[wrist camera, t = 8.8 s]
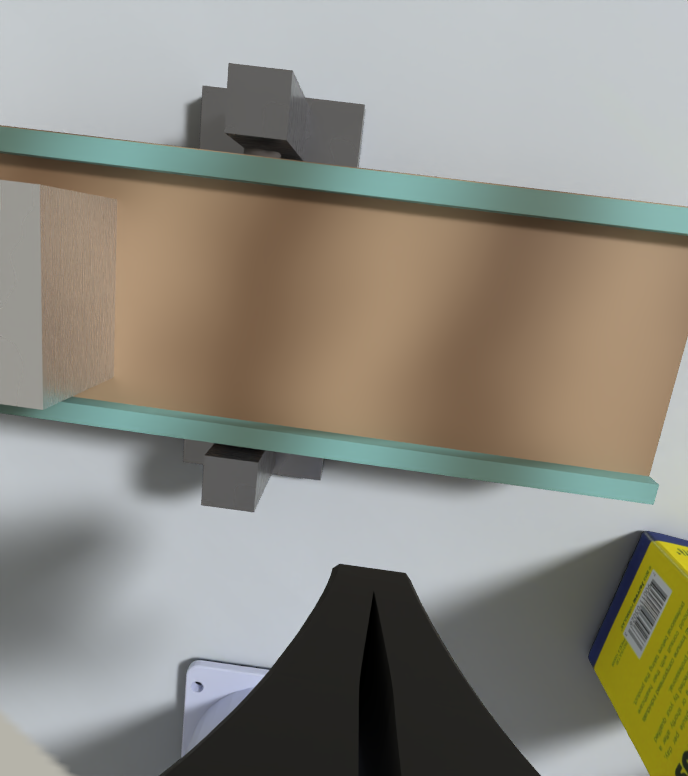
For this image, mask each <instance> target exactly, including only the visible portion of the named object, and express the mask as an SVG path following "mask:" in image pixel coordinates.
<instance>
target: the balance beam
mask: <svg viewBox="0 0 688 776" xmlns="http://www.w3.org/2000/svg"><path fill="white" fill-rule="evenodd" d="M0 180H7V181H15V182H23V183H31V184H40V185H45V186H50V187H55V188H60V189H66V190H71V191H76V192H81V193H86V194H92V195H97V196H102V197H107V198H112V199H117V236H116V290H115V345H114V377H113V378H111V379H109V380H107V381H104V382H102V383H100V384H98V385H96V386H94V387H91V388H89V389H87V390H85V391H83V392H81V393H78V394H76V395H74V396H72V397H70V398H68V399H66V400H63V401H61V402H59V403H57V404H55V405H53V406H50V407H48V408H46V409H44V410H40V409H32V408H25V407H18V406H11V405H4V404H0V413H4V414H11V415H18V416H25V417H32V418H39V419H47V420H54V421H61V422H68V423H75V424H82V425H89V426H96V427H104V428H111V429H118V430H125V431H132V432H139V433H146V434H153V435H161V436H168V437H175V438H182V439H189V440H196V441H203V442H210V443H218V444H225V445H230V446H234V447H246V448H253V449H260V450H267V451H275V452H282V453H289V454H296V455H303V456H310V457H317V458H324V459H332V460H339V461H346V462H353V463H360V464H367V465H374V466H381V467H389V468H396V469H403V470H410V471H417V472H424V473H431V474H438V475H446V476H453V477H460V478H467V479H474V480H481V481H488V482H495V483H503V484H510V485H517V486H524V487H531V488H538V489H545V490H552V491H560V492H567V493H574V494H581V495H588V496H595V497H602V498H610V499H617V500H624V501H631V502H638V503H645V504H652V505H653V504H654V501H655V497H656V494H657V490H658V487H659V484H657V483H656V482H655V481H654V480H653V479H652V478H650V477H649V475H650V471H651V467H652V464H653V460H654V456H655V453H656V449H657V446H658V442H659V438H660V435H661V431H662V427H663V424H664V420H665V417H666V413H667V409H668V406H669V402H670V398H671V395H672V391H673V388H674V384H675V380H676V377H677V373H678V369H679V366H680V362H681V358H682V355H683V351H684V348H685V344H686V340H687V337H688V207H686V206H677V205H669V204H661V203H652V202H644V201H635V200H627V199H618V198H610V197H601V196H593V195H584V194H576V193H568V192H559V191H551V190H542V189H534V188H525V187H517V186H508V185H500V184H492V183H483V182H475V181H466V180H458V179H449V178H441V177H432V176H424V175H415V174H407V173H399V172H390V171H382V170H373V169H365V168H356V167H348V166H339V165H331V164H323V163H314V162H306V161H297V160H289V159H281V154H280V153H278V152H275V151H271V150H266V149H260V148H244V154H238V153H230V152H221V151H213V150H204V149H196V148H187V147H179V146H170V145H162V144H154V143H145V142H137V141H128V140H120V139H111V138H103V137H94V136H86V135H78V134H69V133H61V132H52V131H44V130H35V129H27V128H18V127H10V126H1V125H0Z"/></svg>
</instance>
